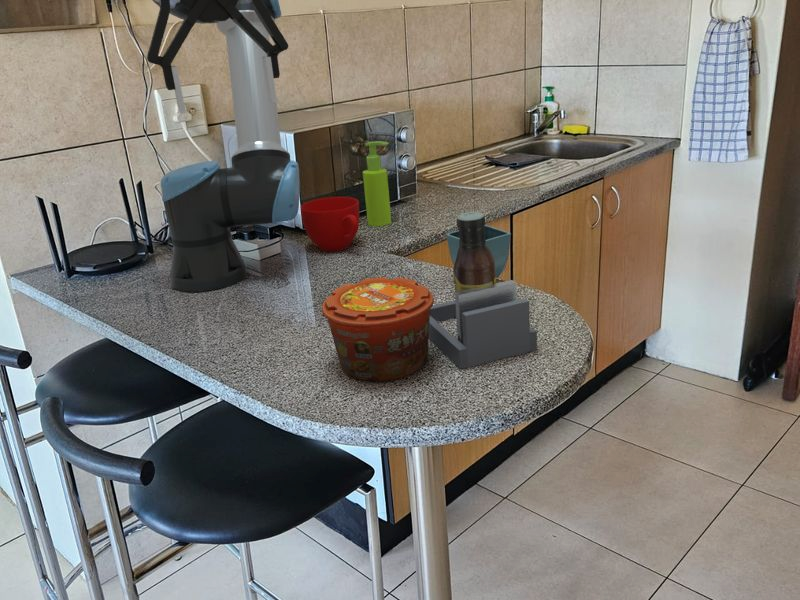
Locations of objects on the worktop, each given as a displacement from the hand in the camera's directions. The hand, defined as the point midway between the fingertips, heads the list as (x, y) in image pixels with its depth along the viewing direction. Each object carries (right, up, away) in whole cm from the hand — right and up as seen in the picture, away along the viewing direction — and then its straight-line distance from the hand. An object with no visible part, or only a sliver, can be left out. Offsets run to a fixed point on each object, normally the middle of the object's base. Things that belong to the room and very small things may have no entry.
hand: (228, 107), depth 105 cm
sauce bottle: (+38, -35, +2) cm, 52 cm away
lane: (+37, -35, +3) cm, 51 cm away
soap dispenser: (+21, -10, +68) cm, 72 cm away
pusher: (+39, -37, -2) cm, 54 cm away
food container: (+24, -39, -2) cm, 45 cm away
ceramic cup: (+12, -18, +51) cm, 55 cm away
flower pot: (+41, -25, +26) cm, 55 cm away
